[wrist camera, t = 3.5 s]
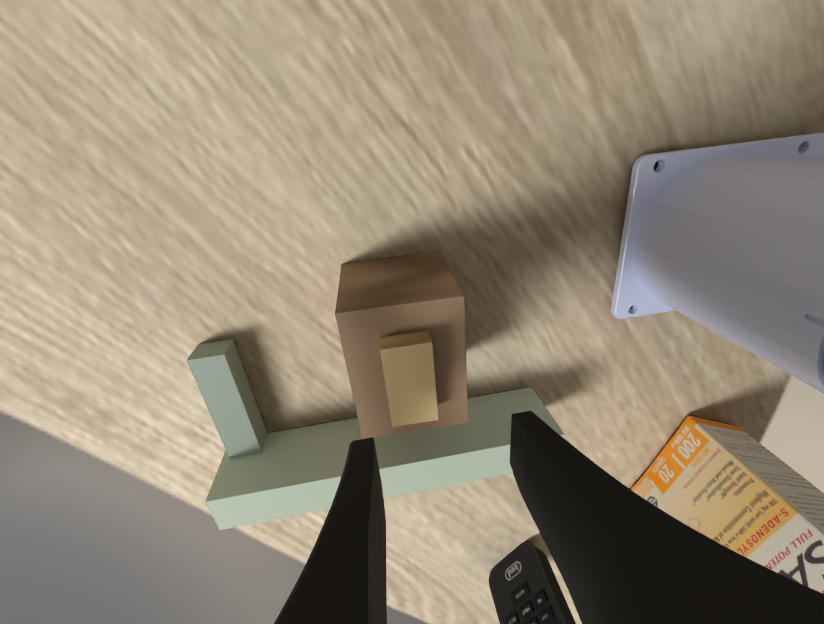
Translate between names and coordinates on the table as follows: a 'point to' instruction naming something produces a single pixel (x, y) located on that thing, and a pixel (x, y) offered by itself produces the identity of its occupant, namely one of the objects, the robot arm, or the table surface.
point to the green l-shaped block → (338, 447)
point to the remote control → (528, 589)
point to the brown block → (403, 343)
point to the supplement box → (740, 498)
